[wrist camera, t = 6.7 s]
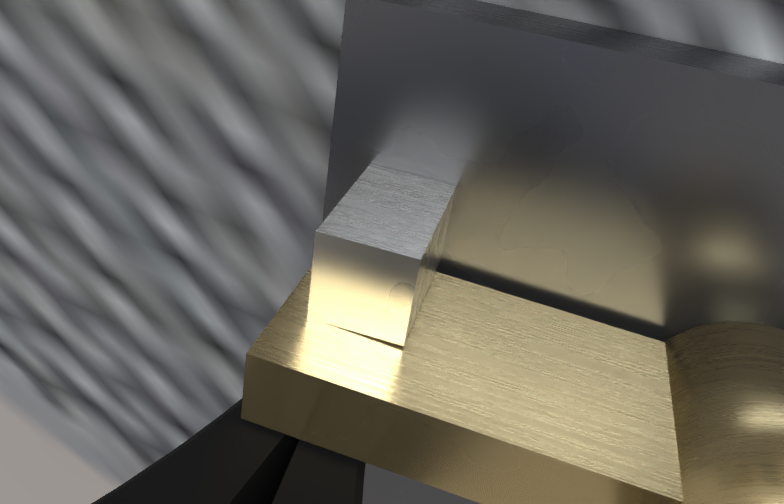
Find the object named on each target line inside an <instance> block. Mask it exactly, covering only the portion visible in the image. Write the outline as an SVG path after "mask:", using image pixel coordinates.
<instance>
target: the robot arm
mask: <svg viewBox="0 0 784 504" xmlns="http://www.w3.org/2000/svg"><path fill="white" fill-rule="evenodd" d="M241 410H242V399H241V400H239V401H238V402H237V403H236V404H234V405H233V406H232V407H231V408H229V409H228V410H227V411H226V412H224V413H223V414H222V415H220V416H219V417H218V418H216V419H215V420H214V421H212V422H211V423H210V424H208V425H207V426H206V427H204V428H203V429H202V430H200V431H199V432H198V433H196V434H195V435H194V436H192V437H191V438H190V439H188V440H187V441H186V442H184V443H183V444H181V445H180V446H179V447H177V448H176V449H174V450H173V451H172V452H170V453H169V454H167V455H166V456H164V457H163V458H161V459H160V460H158V461H157V462H155V463H154V464H152V465H151V466H149V467H148V468H146V469H145V470H143V471H142V472H140V473H139V474H137V475H136V476H134V477H133V478H131V479H130V480H128V481H127V482H125V483H124V484H122V485H121V486H119V487H118V488H116V489H114V490H113V491H111V492H110V493H108V494H106V495H105V496H103V497H102V498H100V499H98V500H97V501H95V502H93V503H92V504H362V502H363V486H364V475H365V465H366V463H365V462H362V461H360V460H357V459H354V458H351V457H348V456H345V455H343V454H340V453H337V452H334V451H331V450H329V449H326V448H323V447H320V446H317V445H315V444H312V443H309V442H306V441H303V440H300V439H298V438H295V437H292V436H289V435H286V434H284V433H281V432H278V431H275V430H272V429H269V428H267V427H264V426H261V425H258V424H255V423H253V422H250V421H247V420H244V419H241Z"/></svg>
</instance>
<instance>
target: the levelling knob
mask: <svg viewBox="0 0 784 504" xmlns="http://www.w3.org/2000/svg"><path fill="white" fill-rule="evenodd" d="M311 274H312V267H311V268H310V269H309V271H308V272H307V273H306V275H305V276H304V277H303V279H302V280H301V281H300V283H299V284H298V285H297V287H296V288H295V289H294V291H293V292H292V293H291V295H290V296H289V297H288V299H287V300H286V301H285V303H284V304H283V305H282V307H281V308H280V309H279V311H278V312H277V313H276V315H275V316H274V317H273V319H272V320H271V321H270V323H269V324H268V325H267V327H266V328H265V329H264V331H263V332H262V333H261V335H260V336H259V337H258V339H257V340H256V341H255V343H254V344H253V345H252V347H251V348H250V349H249V351H248V352H247V353H246V364H245V376H244V387H243V398H242V410H241V419H244V420H247V421H250V422H253V423H255V424H258V425H261V426H264V427H267V428H269V429H272V430H275V431H278V432H281V433H284V434H286V435H289V436H292V437H295V438H298V439H300V440H303V441H306V442H309V443H312V444H315V445H317V446H320V447H323V448H326V449H329V450H331V451H334V452H337V453H340V454H343V455H345V456H348V457H351V458H354V459H357V460H360V461H362V462H365V463H368V464H371V465H374V466H376V467H379V468H382V469H385V470H388V471H391V472H393V473H396V474H399V475H402V476H405V477H407V478H410V479H413V480H416V481H419V482H421V483H424V484H427V485H430V486H433V487H436V488H438V489H441V490H444V491H447V492H450V493H452V494H455V495H458V496H461V497H464V498H466V499H469V500H472V501H475V502H478V503H481V504H784V330H782V329H779V328H776V327H773V326H769V325H765V324H761V323H753V322H742V321H729V322H717V323H711V324H706V325H702V326H698V327H695V328H692V329H689V330H687V331H684V332H682V333H680V334H678V335H676V336H674V337H672V338H671V339H669V340H668V341H666V342H662V341H659V340H655V339H652V338H649V337H646V336H642V335H639V334H636V333H633V332H630V331H626V330H623V329H620V328H617V327H613V326H610V325H607V324H604V323H600V322H597V321H594V320H591V319H587V318H584V317H581V316H578V315H575V314H571V313H568V312H565V311H562V310H558V309H555V308H552V307H549V306H545V305H542V304H539V303H536V302H533V301H529V300H526V299H523V298H520V297H516V296H513V295H510V294H507V293H503V292H500V291H497V290H494V289H491V288H487V287H484V286H481V285H478V284H474V283H471V282H468V281H465V280H461V279H458V278H455V277H452V276H449V275H445V274H442V273H439V272H435V274H434V277H433V279H432V281H431V284H430V286H429V288H428V291H427V293H426V295H425V298H424V300H423V302H422V305H421V307H420V309H419V312H418V314H417V316H416V319H415V321H414V323H413V326H412V328H411V330H410V332H409V335H408V337H407V339H406V342H405V344H404V346H401V345H398V344H395V343H391V342H388V341H384V340H381V339H378V338H374V337H371V336H367V335H364V334H361V333H357V332H354V331H351V330H347V329H344V328H340V327H337V326H334V325H330V324H327V323H323V322H320V321H317V320H314V319H311V318H308V317H307V314H308V304H309V294H310V284H311Z"/></svg>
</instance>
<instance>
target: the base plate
mask: <svg viewBox="0 0 784 504" xmlns="http://www.w3.org/2000/svg"><path fill="white" fill-rule="evenodd" d="M435 272H439V273H442V274H445V275H449V276H452V277H455V278H458V279H461V280H465V281H468V282H471V283H474V284H478V285H481V286H484V287H487V288H491V289H494V290H497V291H500V292H503V293H507V294H510V295H513V296H516V297H520V298H523V299H526V300H529V301H533V302H536V303H539V304H542V305H545V306H549V307H552V308H555V309H558V310H562V311H565V312H568V313H571V314H575V315H578V316H581V317H584V318H587V319H591V320H594V321H597V322H600V323H604V324H607V325H610V326H613V327H617V328H620V329H623V330H626V331H630V332H633V333H636V334H639V335H642V336H646V337H649V338H652V339H655V340H659V341H662V342H666V341H668V340H669V339H671V338H672V337H674V336H676V335H678V334H680V333H682V332H684V331H687V330H689V329H692V328H695V327H698V326H702V325H706V324H711V323H717V322H729V321H742V322H753V323H761V324H765V325H769V326H773V327H776V328H779V329H782V330H784V64H780V63H775V62H770V61H766V60H761V59H756V58H751V57H746V56H741V55H737V54H732V53H727V52H722V51H717V50H712V49H708V48H703V47H698V46H693V45H688V44H684V43H679V42H674V41H669V40H664V39H659V38H655V37H650V36H645V35H640V34H635V33H630V32H626V31H621V30H616V29H611V28H606V27H601V26H597V25H592V24H587V23H582V22H577V21H572V20H568V19H563V18H558V17H553V16H548V15H543V14H539V13H534V12H529V11H524V10H519V9H514V8H510V7H505V6H500V5H495V4H490V3H486V2H481V1H476V0H346V4H345V14H344V23H343V33H342V43H341V52H340V62H339V71H338V81H337V91H336V100H335V110H334V119H333V129H332V138H331V148H330V158H329V167H328V177H327V186H326V196H325V206H324V215H323V223H322V224H321V225H320V226H319V228H318V229H317V230H316V233H315V243H314V253H313V264H312V274H311V284H310V294H309V304H308V314H307V317H308V318H311V319H314V320H317V321H320V322H323V323H327V324H330V325H334V326H337V327H340V328H344V329H347V330H351V331H354V332H357V333H361V334H364V335H367V336H371V337H374V338H378V339H381V340H384V341H388V342H391V343H395V344H398V345H401V346H404V344H405V342H406V339H407V337H408V335H409V332H410V330H411V328H412V326H413V323H414V321H415V319H416V316H417V314H418V312H419V309H420V307H421V305H422V302H423V300H424V298H425V295H426V293H427V291H428V288H429V286H430V284H431V281H432V279H433V277H434V274H435ZM362 504H481V503H478V502H475V501H472V500H469V499H466V498H464V497H461V496H458V495H455V494H452V493H450V492H447V491H444V490H441V489H438V488H436V487H433V486H430V485H427V484H424V483H421V482H419V481H416V480H413V479H410V478H407V477H405V476H402V475H399V474H396V473H393V472H391V471H388V470H385V469H382V468H379V467H376V466H374V465H371V464H368V463H366V465H365V475H364V486H363V502H362Z"/></svg>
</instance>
